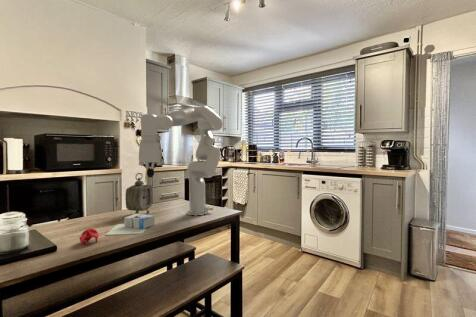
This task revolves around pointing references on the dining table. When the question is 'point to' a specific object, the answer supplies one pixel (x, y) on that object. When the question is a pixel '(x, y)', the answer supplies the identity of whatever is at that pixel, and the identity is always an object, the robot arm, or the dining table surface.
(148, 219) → the ink box
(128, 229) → the mat
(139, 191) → the tabletop clock
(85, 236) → the red hair claw clip
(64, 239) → the dining table surface
